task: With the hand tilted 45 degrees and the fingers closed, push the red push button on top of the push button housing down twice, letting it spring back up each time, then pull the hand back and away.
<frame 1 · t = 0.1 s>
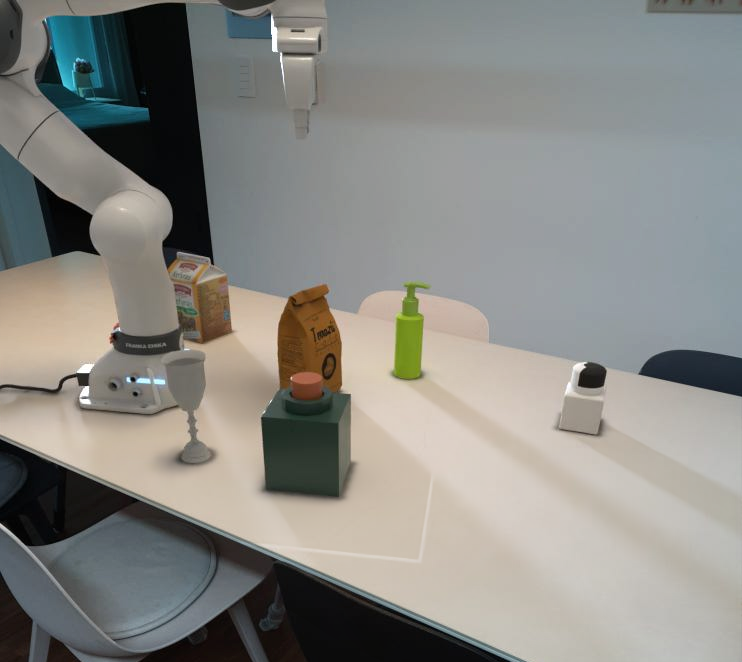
hand: (302, 136, 123), 48 cm above the table, tool pointing down, fingers open, 8 cm apart
red push button: (306, 386, 112), point 16 cm above the table, slide at 0.1 cm
medicine bottle: (579, 425, 139), on the table
soap dispenser: (409, 375, 159), on the table
push button housing: (309, 476, 120), on the table
milk carton: (201, 334, 179), on the table
chalice: (196, 457, 125), on the table
coffee package: (311, 396, 148), on the table
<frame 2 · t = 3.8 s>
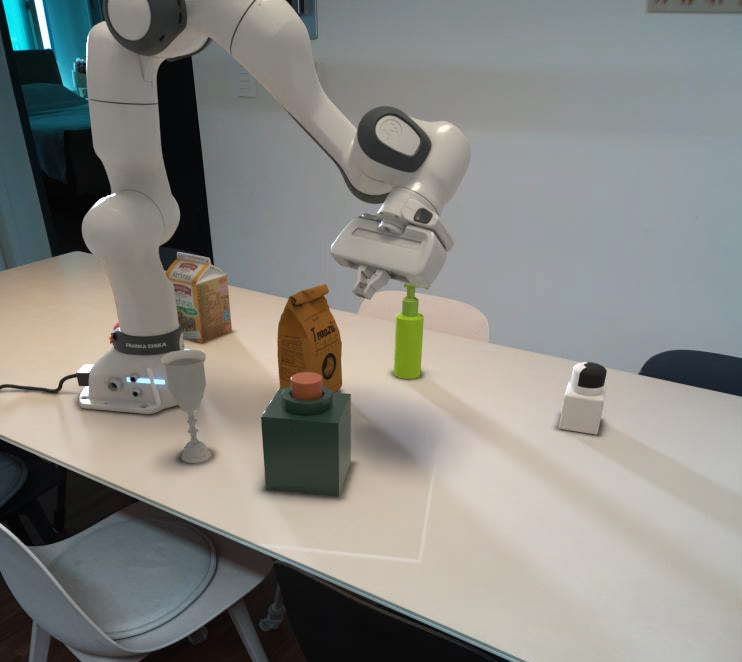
hand: (360, 295, 113), 28 cm above the table, tool tilted 45°, fingers closed
nothing on the table moved.
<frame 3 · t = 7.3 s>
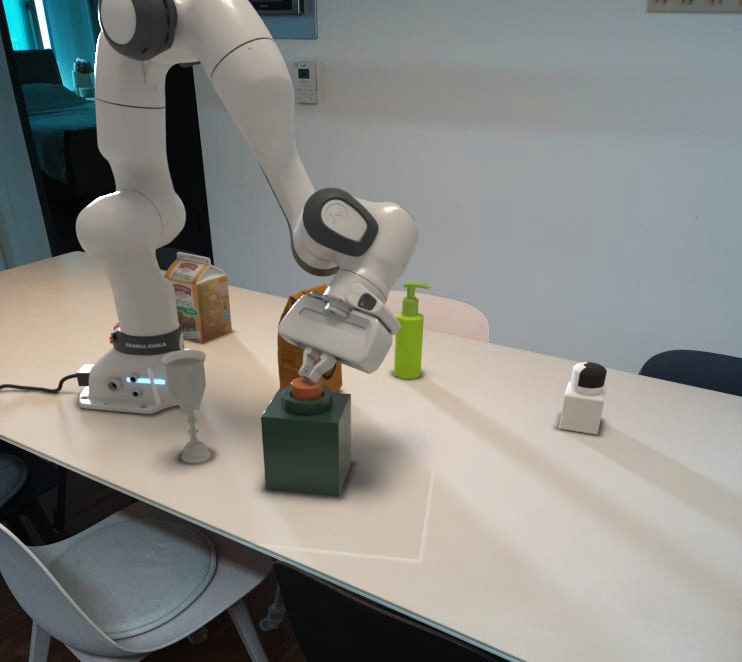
hand: (306, 378, 111), 17 cm above the table, tool tilted 45°, fingers closed, pressing on red push button
red push button: (307, 391, 112), point 15 cm above the table, slide at -0.7 cm, touching gripper
everything else where it was.
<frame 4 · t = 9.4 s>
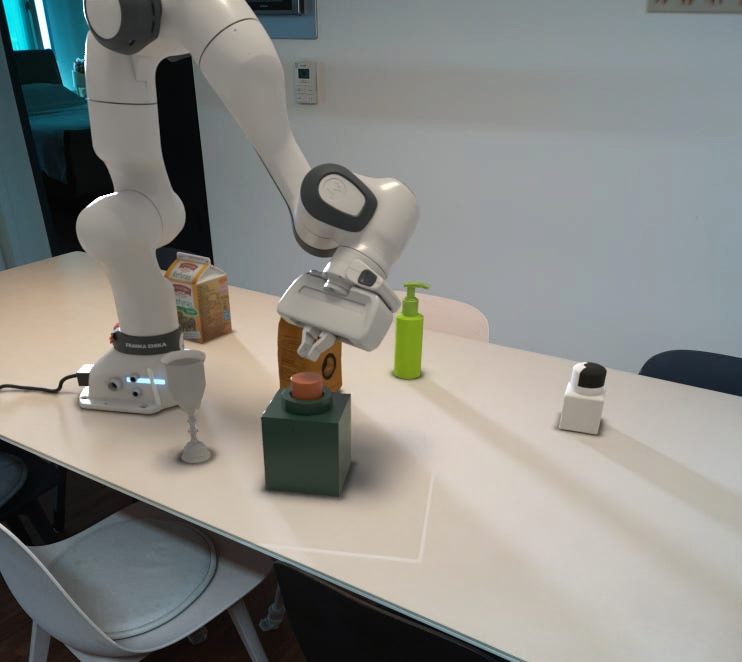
hand: (305, 357, 109), 21 cm above the table, tool tilted 45°, fingers closed
red push button: (306, 386, 112), point 16 cm above the table, slide at 0.1 cm
everything else where it was.
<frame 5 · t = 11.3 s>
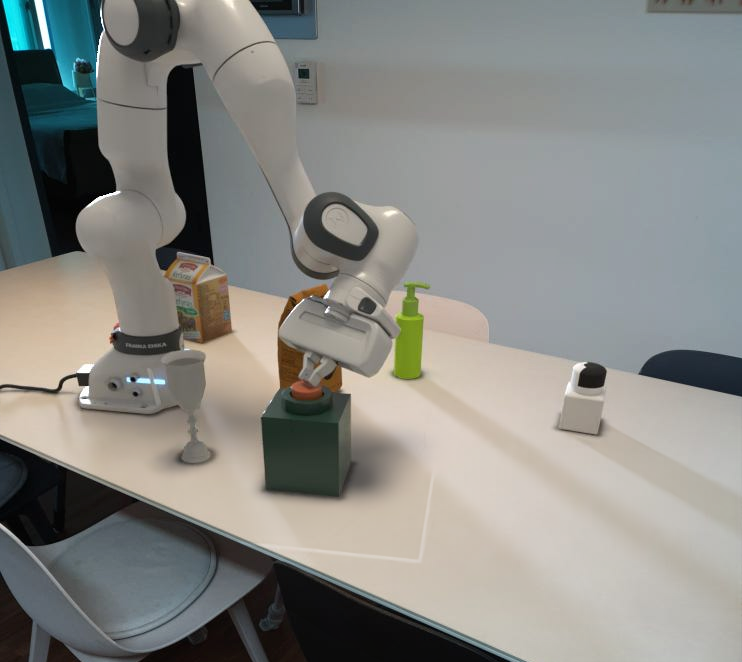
hand: (306, 382, 111), 17 cm above the table, tool tilted 45°, fingers closed, pressing on red push button
red push button: (307, 395, 112), point 15 cm above the table, slide at -1.3 cm, touching gripper
everything else where it was.
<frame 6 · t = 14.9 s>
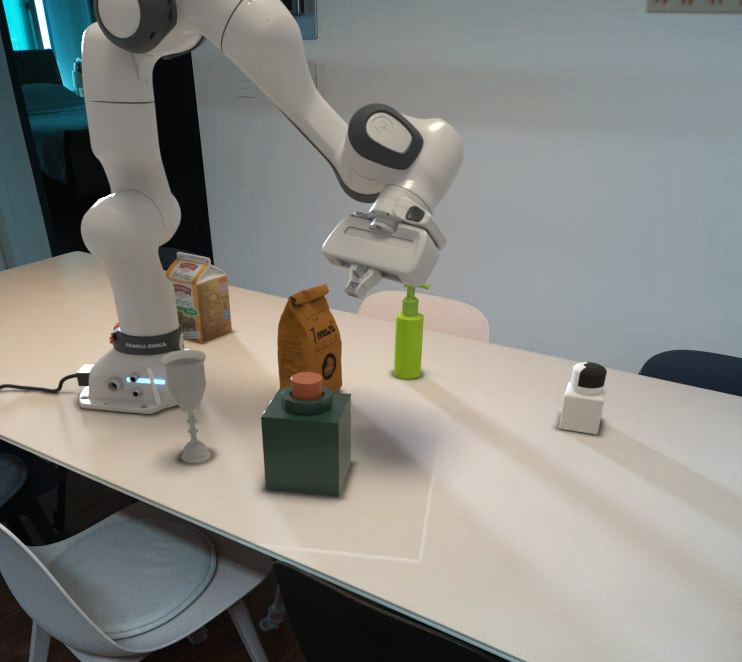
hand: (352, 295, 111), 28 cm above the table, tool tilted 45°, fingers closed
red push button: (306, 386, 112), point 16 cm above the table, slide at 0.1 cm
everything else where it was.
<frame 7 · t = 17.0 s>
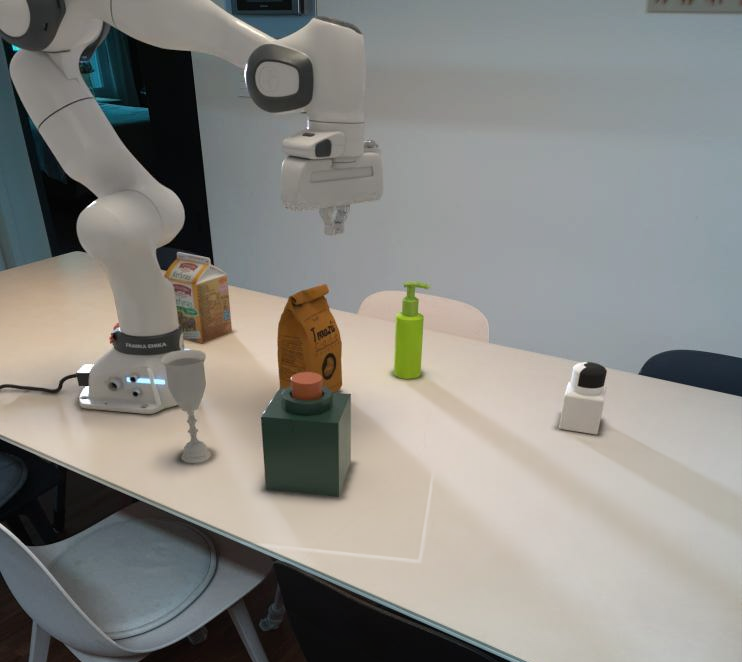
hand: (334, 234, 120), 35 cm above the table, tool pointing down, fingers closed
nothing on the table moved.
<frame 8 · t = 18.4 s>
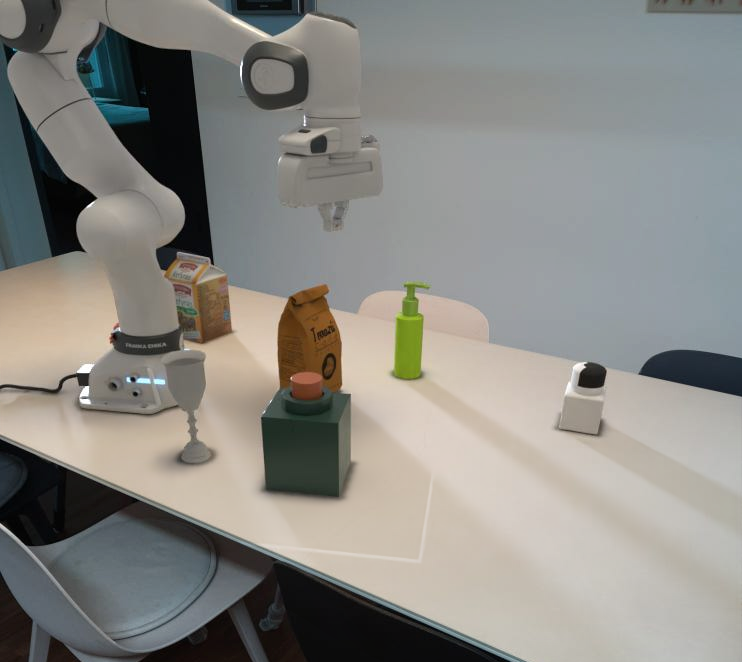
hand: (333, 230, 120), 35 cm above the table, tool pointing down, fingers closed
nothing on the table moved.
at the end: red push button pushed in 1.4 cm at the most during the clip, back to where it started at the end; red push button slide at 0.1 cm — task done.
